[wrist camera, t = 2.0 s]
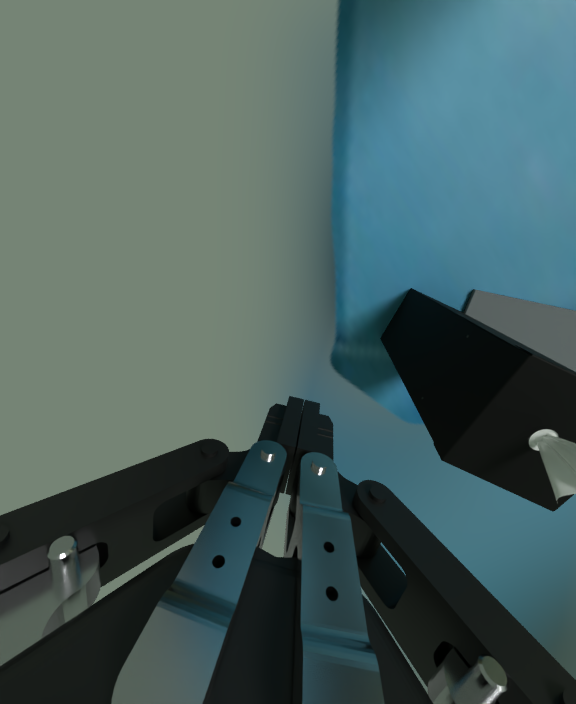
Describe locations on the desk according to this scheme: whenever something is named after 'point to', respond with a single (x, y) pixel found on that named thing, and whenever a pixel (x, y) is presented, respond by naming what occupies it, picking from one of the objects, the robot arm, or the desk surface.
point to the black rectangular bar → (487, 399)
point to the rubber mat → (528, 324)
